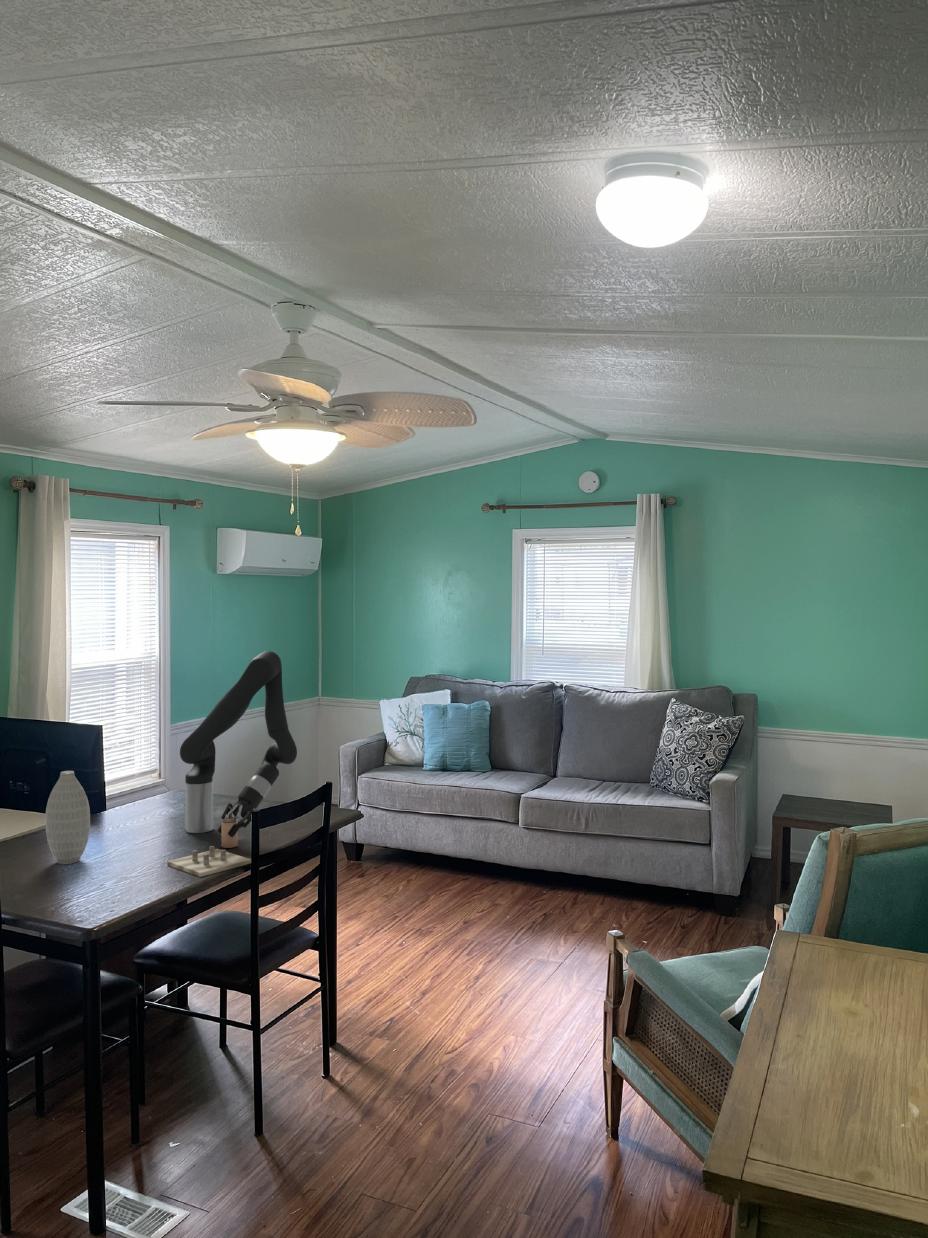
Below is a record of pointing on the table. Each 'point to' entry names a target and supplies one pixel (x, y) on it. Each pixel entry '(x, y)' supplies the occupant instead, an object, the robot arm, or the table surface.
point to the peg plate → (212, 861)
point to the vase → (67, 819)
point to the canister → (225, 838)
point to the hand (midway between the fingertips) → (224, 834)
